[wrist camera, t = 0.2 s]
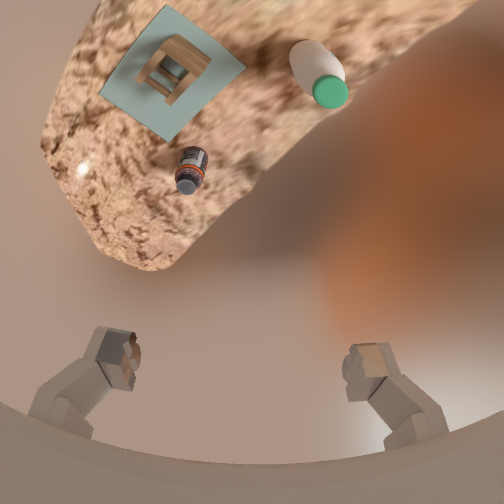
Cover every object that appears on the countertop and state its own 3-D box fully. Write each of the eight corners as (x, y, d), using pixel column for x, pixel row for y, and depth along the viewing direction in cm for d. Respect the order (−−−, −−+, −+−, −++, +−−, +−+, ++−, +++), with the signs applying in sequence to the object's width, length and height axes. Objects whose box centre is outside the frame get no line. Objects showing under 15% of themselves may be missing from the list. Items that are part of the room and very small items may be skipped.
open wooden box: (178, 33, 39) (164, 41, 34) (212, 59, 44) (204, 71, 39) (149, 66, 44) (133, 79, 39) (181, 89, 49) (170, 106, 44)
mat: (167, 4, 34) (166, 4, 34) (246, 67, 46) (246, 67, 45) (99, 93, 48) (98, 94, 48) (169, 141, 59) (168, 142, 59)
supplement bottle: (206, 169, 65) (198, 201, 58) (181, 164, 64) (170, 196, 57) (210, 148, 61) (202, 179, 54) (184, 143, 60) (172, 173, 53)
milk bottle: (284, 71, 46) (295, 113, 34) (292, 35, 40) (308, 59, 28) (324, 79, 47) (350, 125, 34) (334, 44, 41) (368, 76, 28)
